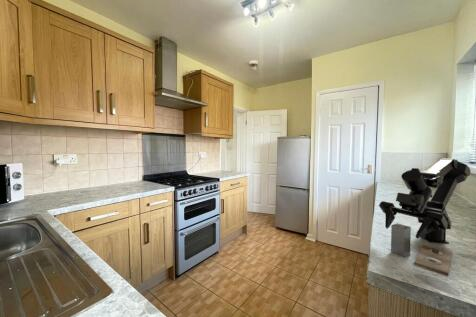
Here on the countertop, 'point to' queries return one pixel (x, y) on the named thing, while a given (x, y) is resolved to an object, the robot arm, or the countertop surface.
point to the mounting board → (434, 259)
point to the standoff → (400, 239)
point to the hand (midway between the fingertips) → (400, 232)
